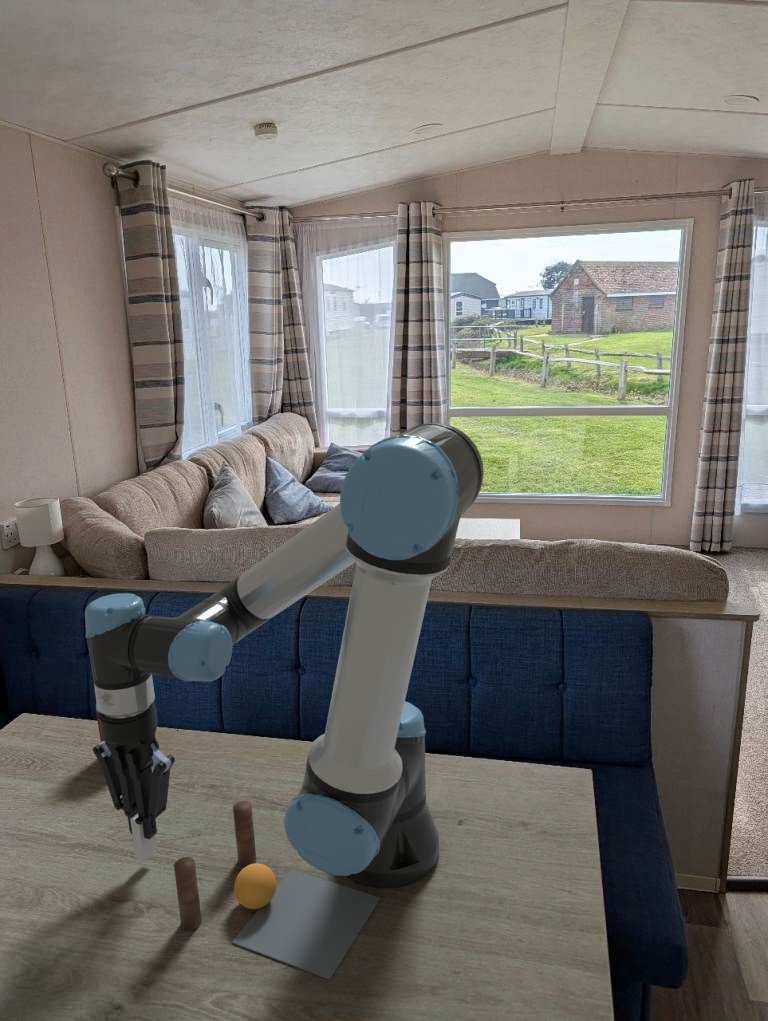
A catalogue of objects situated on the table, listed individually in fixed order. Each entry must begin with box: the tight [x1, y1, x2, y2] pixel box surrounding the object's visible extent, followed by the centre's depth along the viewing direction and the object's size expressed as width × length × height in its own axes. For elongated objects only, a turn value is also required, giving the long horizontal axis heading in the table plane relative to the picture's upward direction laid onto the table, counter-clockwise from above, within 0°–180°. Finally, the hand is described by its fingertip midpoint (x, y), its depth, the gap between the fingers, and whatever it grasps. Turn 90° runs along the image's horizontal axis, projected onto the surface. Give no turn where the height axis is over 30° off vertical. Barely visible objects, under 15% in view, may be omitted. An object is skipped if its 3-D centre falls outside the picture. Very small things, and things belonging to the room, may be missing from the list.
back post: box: [232, 800, 257, 868], centre depth 108 cm, size 3×3×9 cm
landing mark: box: [231, 869, 381, 981], centre depth 98 cm, size 14×14×1 cm
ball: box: [233, 862, 277, 910], centre depth 101 cm, size 6×6×6 cm
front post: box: [173, 856, 203, 932], centre depth 97 cm, size 3×3×9 cm
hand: (146, 853), depth 109 cm, fingers closed
